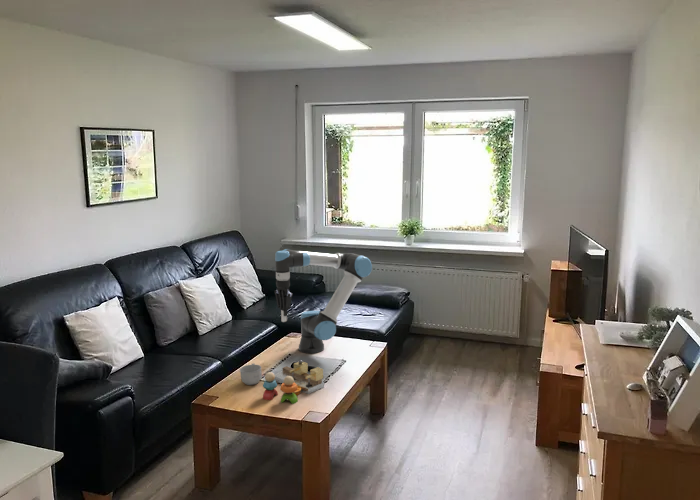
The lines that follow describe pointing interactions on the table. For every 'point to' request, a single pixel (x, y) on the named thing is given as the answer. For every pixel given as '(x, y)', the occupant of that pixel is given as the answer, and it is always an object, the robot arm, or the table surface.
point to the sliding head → (299, 368)
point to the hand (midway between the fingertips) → (284, 321)
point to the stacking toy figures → (287, 387)
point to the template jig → (303, 379)
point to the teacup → (251, 374)
